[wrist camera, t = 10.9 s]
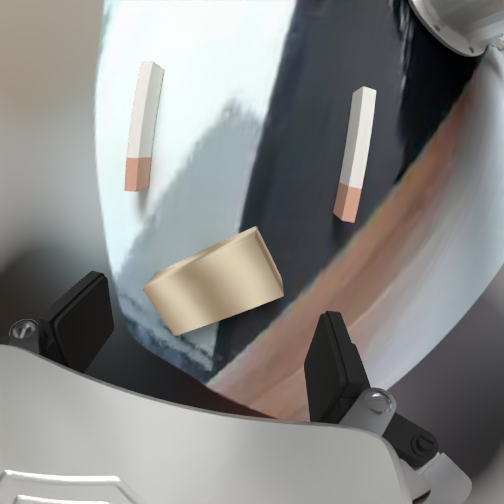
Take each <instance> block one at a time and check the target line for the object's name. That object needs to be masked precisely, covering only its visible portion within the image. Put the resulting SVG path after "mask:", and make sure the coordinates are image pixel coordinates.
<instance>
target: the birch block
mask: <svg viewBox="0 0 504 504" xmlns="http://www.w3.org/2000/svg"><path fill="white" fill-rule="evenodd" d="M143 291H144V292H145V294H146V295H147V297H148V298H149V300H150V301H151V303H152V304H153V306H154V307H155V309H156V310H157V312H158V313H159V314H160V316H161V317H162V319H163V320H164V322H165V323H166V324H167V326H168V327H169V329H170V330H171V331H172V333H173V334H174V335H175V336H177V335H180V334H183V333H186V332H188V331H191V330H194V329H197V328H200V327H203V326H206V325H209V324H211V323H214V322H217V321H220V320H222V319H225V318H228V317H231V316H233V315H236V314H239V313H241V312H244V311H247V310H249V309H252V308H255V307H257V306H260V305H262V304H265V303H267V302H270V301H273V300H275V299H278V298H280V297H283V296H284V293H283V285H282V278H281V276H280V274H279V272H278V270H277V267H276V265H275V263H274V261H273V259H272V257H271V255H270V253H269V251H268V249H267V247H266V245H265V243H264V241H263V239H262V237H261V235H260V233H259V231H258V229H257V227H256V226H255V227H253V228H251V229H248V230H246V231H244V232H242V233H240V234H238V235H235V236H233V237H231V238H229V239H227V240H225V241H222V242H220V243H218V244H216V245H214V246H212V247H209V248H207V249H205V250H203V251H201V252H199V253H197V254H195V255H192V256H190V257H188V258H186V259H184V260H182V261H180V262H178V263H176V264H173V265H171V266H169V267H167V268H165V269H163V270H161V271H159V272H157V273H155V274H154V276H153V277H152V278H151V279H150V280H149V282H148V283H147V284H146V285H145V287H144V288H143Z"/></svg>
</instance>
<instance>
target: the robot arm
mask: <svg viewBox="0 0 504 504" xmlns="http://www.w3.org/2000/svg"><path fill="white" fill-rule="evenodd" d="M408 2H409V4H410V6H411V8H412V10H413V11H414V13H415V15H416V16H417V17H418V19H419V20H420V21H421V23H422V24H423V25H424V26H425V27H426V29H427V30H428V31H429V32H430V33H431V34H432V35H433V36H434V37H435V38H436V39H437V40H439V41H440V42H441V43H442V44H443V45H445V46H446V47H448V48H449V49H450V50H452V51H454V52H456V53H458V54H460V55H463V56H466V57H474V56H478V55H480V54H482V53H483V52H484V51H485V48H486V45H487V44H489V45H490V46H492V47H496V48H497V49H498V50H499V51H500V52H501V53H503V54H504V41H503V40H501V39H500V37H503V35H504V0H408ZM39 319H40V324H39V325H38V324H37V323H36V322H35V321H34V320H30V319H24V320H21V321H18V322H17V323H15V324H14V325H13V326H12V328H11V330H10V335H9V336H6V337H1V338H0V504H462V503H463V502H464V501H465V499H466V498H467V497H468V495H469V494H470V491H471V487H472V484H471V481H470V479H469V478H468V476H466V474H465V473H463V472H462V471H461V469H459V468H458V467H457V466H456V465H455V464H454V463H453V462H452V461H451V460H450V459H449V458H448V457H447V456H446V455H445V454H444V453H442V454H441V455H440V454H439V453H438V442H437V440H436V438H435V437H434V436H433V435H432V434H431V433H429V432H428V431H426V430H424V429H423V428H421V427H419V426H417V425H416V424H414V423H412V422H411V421H409V420H407V419H406V418H404V417H402V416H400V415H399V414H397V413H396V412H395V410H396V402H395V399H394V397H393V396H392V395H391V394H390V393H388V392H387V391H386V390H383V389H381V388H371V387H370V384H369V381H368V378H367V375H366V372H365V369H364V366H363V364H362V361H361V358H360V355H359V353H358V350H357V347H356V345H355V344H352V343H351V340H350V337H349V334H348V332H347V329H346V326H345V324H344V321H343V318H342V316H341V313H340V312H333V311H326V313H325V314H321V316H320V318H319V321H318V324H317V327H316V330H315V333H314V336H313V339H312V342H311V345H310V348H309V351H308V353H307V356H306V359H305V363H304V371H305V379H306V387H307V395H308V404H309V413H310V422H306V421H290V420H278V419H268V418H258V417H250V416H242V415H235V414H228V413H221V412H216V411H210V410H205V409H200V408H195V407H190V406H186V405H181V404H177V403H173V402H169V401H165V400H161V399H157V398H153V397H150V396H146V395H143V394H139V393H136V392H133V391H129V390H126V389H123V388H120V387H117V386H114V385H112V384H109V383H106V382H103V381H100V380H97V379H95V378H92V377H90V376H87V375H84V372H85V371H86V369H87V368H88V367H89V365H90V363H91V362H92V361H93V359H94V358H95V356H96V355H97V353H98V352H99V351H100V349H101V348H102V346H103V345H104V344H105V342H106V341H107V339H108V338H109V337H110V335H111V334H112V332H113V330H114V323H113V317H112V310H111V303H110V297H109V288H108V280H107V278H106V277H105V276H104V274H103V273H100V272H95V271H91V272H90V273H89V274H87V275H86V276H85V277H84V278H83V279H81V280H80V281H79V282H78V283H77V284H76V285H74V286H73V287H72V288H71V289H70V290H69V291H68V292H67V293H65V294H64V295H63V296H62V297H61V298H60V299H59V300H57V301H56V302H55V303H54V304H53V305H52V306H51V307H50V308H49V309H48V310H46V311H45V312H44V314H42V315H41V316H40V317H39Z"/></svg>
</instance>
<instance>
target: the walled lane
mask: <svg viewBox="0 0 504 504" xmlns="http://www.w3.org/2000/svg"><path fill="white" fill-rule="evenodd" d="M163 75H164V69H163V68H161V67H160V66H159V65H157V64H156V63H155V62H153V61H151V62H141V65H140V70H139V75H138V80H137V85H136V90H135V96H134V102H133V108H132V115H131V122H130V130H129V139H128V149H127V160H126V173H125V191H135V192H136V191H139V190H142V189H145V188H148V187H149V180H150V167H151V157H152V147H153V138H154V130H155V123H156V116H157V109H158V103H159V97H160V91H161V85H162V80H163ZM375 98H376V90H373V89H370V88H367V87H364V86H363V87H362V88H360V89H358V90H357V91H355V92H354V93H353V96H352V104H351V112H350V119H349V126H348V133H347V140H346V146H345V152H344V158H343V164H342V170H341V175H340V181H339V186H338V191H337V196H336V201H335V206H334V211H333V213H334V214H335V215H336V216H337V217H338V218H340V219H341V220H343V221H348V222H353V223H354V221H355V217H356V213H357V208H358V204H359V199H360V194H361V189H362V184H363V179H364V174H365V168H366V162H367V157H368V150H369V144H370V137H371V131H372V123H373V115H374V107H375Z"/></svg>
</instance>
